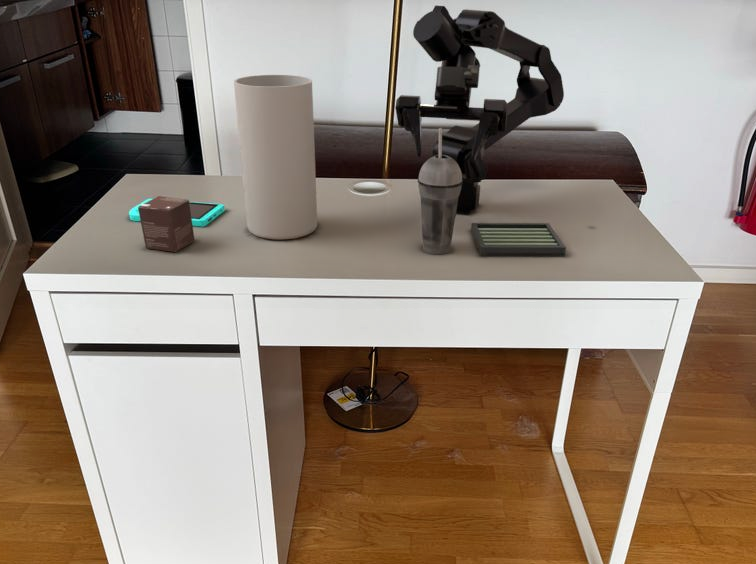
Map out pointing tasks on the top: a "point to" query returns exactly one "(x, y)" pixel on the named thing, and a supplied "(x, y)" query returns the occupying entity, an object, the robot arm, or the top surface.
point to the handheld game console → (199, 212)
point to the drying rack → (517, 239)
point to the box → (166, 223)
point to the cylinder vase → (277, 154)
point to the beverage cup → (439, 200)
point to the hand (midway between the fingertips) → (445, 157)
